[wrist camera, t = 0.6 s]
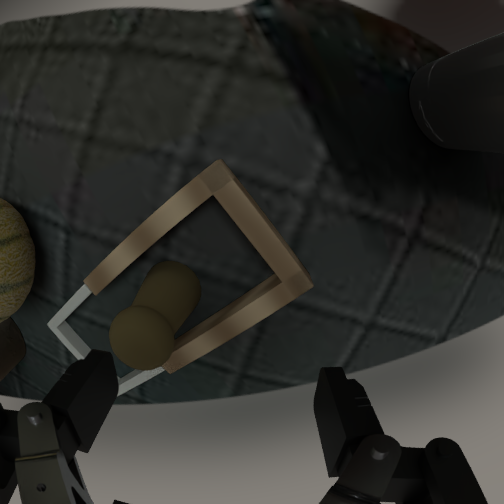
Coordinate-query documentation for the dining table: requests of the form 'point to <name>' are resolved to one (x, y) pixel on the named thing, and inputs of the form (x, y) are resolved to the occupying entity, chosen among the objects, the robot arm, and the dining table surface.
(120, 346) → the olive gourd
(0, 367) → the pillar candle
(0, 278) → the cantaloupe
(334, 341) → the dining table surface
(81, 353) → the grey u-shaped staple
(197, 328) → the oak channel
